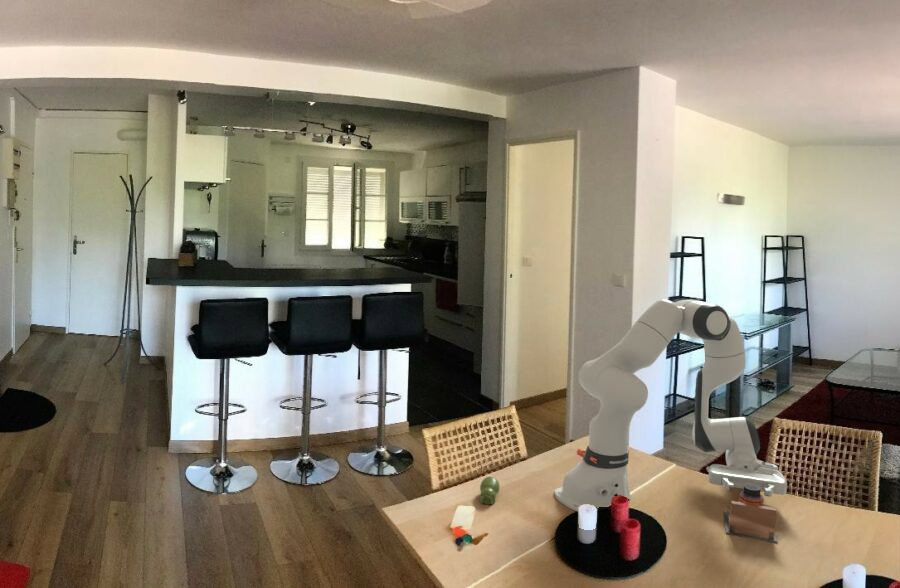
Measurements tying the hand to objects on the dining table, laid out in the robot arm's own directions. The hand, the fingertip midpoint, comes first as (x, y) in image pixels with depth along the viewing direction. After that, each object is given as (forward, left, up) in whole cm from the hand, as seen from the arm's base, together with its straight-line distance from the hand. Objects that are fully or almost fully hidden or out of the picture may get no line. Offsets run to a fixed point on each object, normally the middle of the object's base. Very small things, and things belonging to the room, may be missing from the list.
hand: (749, 491), depth 170 cm
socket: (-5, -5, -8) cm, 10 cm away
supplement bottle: (-5, -5, -7) cm, 10 cm away
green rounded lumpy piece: (-61, +38, -8) cm, 72 cm away
